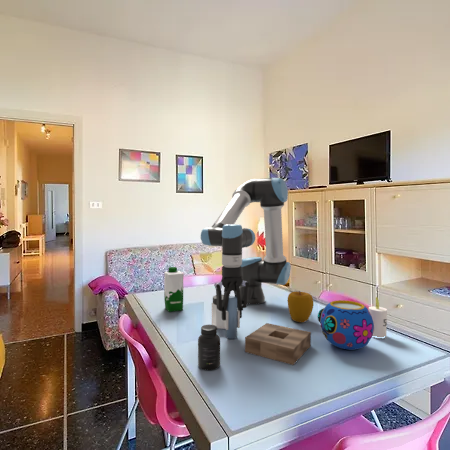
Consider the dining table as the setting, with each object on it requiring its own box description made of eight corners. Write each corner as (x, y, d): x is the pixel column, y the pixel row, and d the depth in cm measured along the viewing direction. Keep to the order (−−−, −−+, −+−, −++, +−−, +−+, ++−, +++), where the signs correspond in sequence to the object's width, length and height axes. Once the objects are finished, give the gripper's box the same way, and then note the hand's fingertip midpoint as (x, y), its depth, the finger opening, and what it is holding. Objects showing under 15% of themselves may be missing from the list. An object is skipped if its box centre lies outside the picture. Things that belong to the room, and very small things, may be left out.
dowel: (229, 334, 123) (230, 295, 123) (238, 336, 121) (239, 297, 120) (224, 337, 120) (224, 297, 119) (233, 339, 118) (233, 299, 117)
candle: (379, 340, 118) (380, 300, 118) (364, 334, 124) (365, 296, 123) (390, 337, 121) (391, 298, 121) (375, 331, 127) (376, 294, 126)
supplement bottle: (197, 361, 101) (197, 323, 100) (219, 360, 101) (219, 322, 101) (197, 371, 94) (197, 331, 94) (221, 370, 95) (221, 330, 94)
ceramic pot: (314, 336, 122) (314, 297, 121) (361, 337, 121) (362, 298, 120) (327, 357, 104) (328, 311, 104) (382, 358, 103) (383, 312, 103)
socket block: (266, 336, 122) (266, 323, 122) (310, 346, 113) (310, 332, 112) (245, 352, 107) (245, 337, 107) (293, 365, 98) (293, 349, 98)
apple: (314, 318, 143) (315, 289, 142) (310, 326, 133) (311, 295, 132) (290, 315, 147) (290, 287, 147) (284, 322, 137) (284, 292, 137)
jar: (236, 327, 131) (236, 298, 131) (218, 330, 127) (218, 300, 127) (226, 320, 139) (226, 293, 139) (209, 323, 136) (209, 295, 135)
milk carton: (180, 305, 161) (180, 266, 161) (185, 310, 153) (185, 269, 153) (162, 307, 158) (162, 267, 157) (167, 312, 150) (167, 270, 149)
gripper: (214, 268, 113) (214, 334, 114) (256, 265, 119) (256, 327, 120) (207, 265, 120) (207, 327, 121) (247, 263, 126) (247, 321, 127)
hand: (231, 327), depth 120 cm, fingers closed on dowel, 4 cm apart
